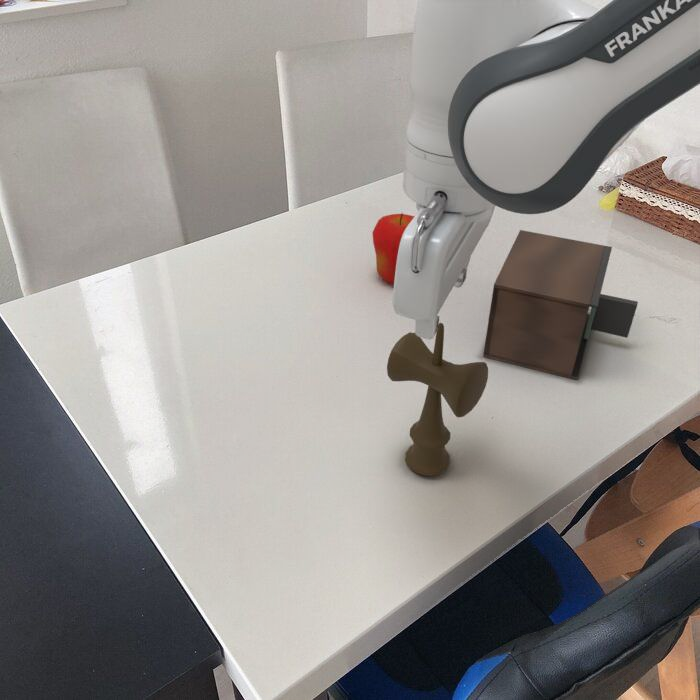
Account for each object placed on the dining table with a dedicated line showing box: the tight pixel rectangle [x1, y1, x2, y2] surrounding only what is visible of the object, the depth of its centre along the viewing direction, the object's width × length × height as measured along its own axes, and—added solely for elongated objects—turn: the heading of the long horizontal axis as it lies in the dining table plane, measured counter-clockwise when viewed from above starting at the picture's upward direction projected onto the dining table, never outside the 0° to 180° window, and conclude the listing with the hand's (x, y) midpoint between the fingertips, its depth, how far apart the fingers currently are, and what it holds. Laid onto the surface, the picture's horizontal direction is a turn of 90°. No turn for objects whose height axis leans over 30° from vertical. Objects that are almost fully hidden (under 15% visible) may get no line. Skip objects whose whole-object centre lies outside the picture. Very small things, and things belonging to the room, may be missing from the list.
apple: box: [371, 212, 415, 286], centre depth 108 cm, size 9×8×12 cm
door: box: [584, 293, 639, 340], centre depth 96 cm, size 6×8×11 cm, turn 157°
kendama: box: [386, 322, 489, 477], centre depth 73 cm, size 6×10×20 cm, turn 50°
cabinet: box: [482, 229, 613, 381], centre depth 95 cm, size 13×16×12 cm
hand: (441, 307), depth 66 cm, fingers open, 8 cm apart
